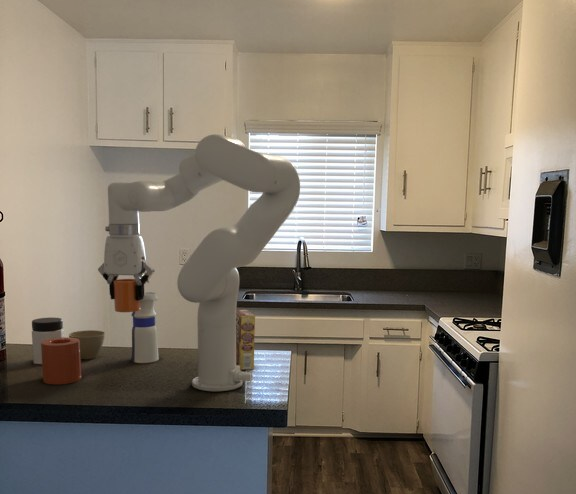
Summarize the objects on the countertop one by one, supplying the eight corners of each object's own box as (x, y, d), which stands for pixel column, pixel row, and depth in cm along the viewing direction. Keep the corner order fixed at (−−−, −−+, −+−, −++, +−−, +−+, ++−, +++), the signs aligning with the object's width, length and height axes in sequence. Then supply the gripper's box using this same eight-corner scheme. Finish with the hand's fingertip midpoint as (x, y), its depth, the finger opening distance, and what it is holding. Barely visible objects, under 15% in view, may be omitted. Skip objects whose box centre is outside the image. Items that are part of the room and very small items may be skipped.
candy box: (255, 369, 172) (255, 314, 169) (240, 370, 170) (239, 315, 168) (248, 361, 180) (248, 309, 178) (233, 362, 179) (233, 309, 176)
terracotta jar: (88, 375, 164) (86, 338, 162) (68, 385, 155) (66, 346, 154) (57, 373, 166) (55, 336, 165) (35, 382, 157) (33, 344, 156)
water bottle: (126, 358, 183) (123, 273, 179) (154, 354, 187) (152, 271, 183) (133, 364, 176) (130, 276, 172) (163, 361, 180) (160, 274, 176)
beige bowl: (95, 362, 177) (94, 337, 176) (63, 360, 179) (61, 336, 178) (111, 354, 187) (110, 330, 186) (81, 352, 189) (80, 329, 188)
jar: (58, 356, 184) (56, 316, 182) (70, 361, 179) (68, 320, 177) (28, 361, 178) (25, 319, 176) (39, 366, 173) (36, 324, 171)
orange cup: (144, 308, 168) (143, 279, 167) (132, 312, 162) (131, 282, 160) (122, 307, 170) (121, 278, 168) (110, 311, 163) (108, 281, 162)
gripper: (86, 231, 161) (90, 300, 164) (148, 232, 157) (150, 302, 159) (102, 230, 168) (105, 295, 171) (161, 230, 164) (163, 298, 167)
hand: (127, 298), depth 165 cm, fingers closed on orange cup, 6 cm apart
